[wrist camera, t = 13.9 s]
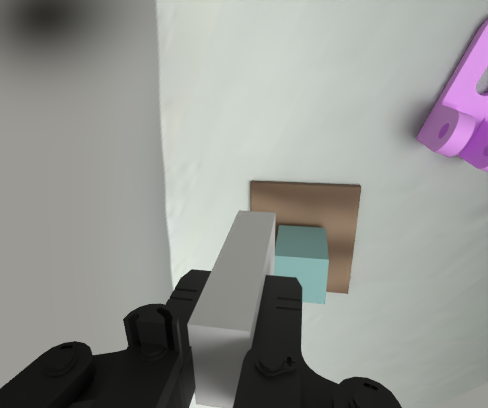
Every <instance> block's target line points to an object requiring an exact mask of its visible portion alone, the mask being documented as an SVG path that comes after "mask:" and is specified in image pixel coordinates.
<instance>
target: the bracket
mask: <svg viewBox="0 0 488 408" xmlns="http://www.w3.org/2000/svg"><path fill="white" fill-rule="evenodd" d="M487 66H488V19H487V20H486V21H485V22H484V23H483V24H482V25H481V27H480V28H479V30H478V31H477V33H476V35H475V36H474V38H473V40H472V42H471V43H470V45H469V47H468V49H467V50H466V52H465V54H464V55H463V57H462V59H461V61H460V62H459V64H458V66H457V68H456V69H455V71H454V73H453V74H452V76H451V78H450V80H449V81H448V83H447V85H446V87H445V88H444V90H443V92H442V94H441V95H440V97H439V99H438V100H437V102H436V104H435V106H434V107H433V109H432V111H431V113H430V114H429V116H428V118H427V120H426V121H425V123H424V125H423V126H422V128H421V130H420V132H419V133H418V135H417V137H416V139H417V140H418V141H420V142H421V143H422V144H424V145H425V146H426V147H428V148H429V149H430V150H431V151H434V152H436V153H439V154H441V155H444V156H447V157H452V156H454V155H457V156H459V157H461V158H463V159H464V160H466V161H467V162H469V163H470V164H472V165H473V166H475V167H476V168H478V169H481V170H483V171H486V172H488V91H487V92H486V93H484V94H481V95H479V94H478V93H477V91H476V85H477V82H478V81H479V79H480V77H481V76H482V74H483V72H484V71H485V69H486V68H487Z"/></svg>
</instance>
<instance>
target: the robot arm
mask: <svg viewBox="0 0 488 408" xmlns="http://www.w3.org/2000/svg"><path fill="white" fill-rule="evenodd" d="M274 264H275V212H257V211H239V212H238V214H237V216H236V218H235V220H234V223H233V225H232V227H231V229H230V231H229V234H228V236H227V238H226V240H225V242H224V245H223V247H222V249H221V251H220V254H219V256H218V258H217V260H216V262H215V265H214V267H213V269H212V271H204V270H191V271H189V272H188V273H187V274H185V275H184V276H183V277H181V279H180V280H179V282H178V284H177V286H176V287H175V290H174V291H173V292H172V294H171V296H170V299H168V301H167V303H166V305H164V304H148V305H145V306H141V307H139V308H137V309H135V310H133V311H132V312H130V313H129V314H128V315H127V316H126V317H125V318H124V319H123V321H124V326H125V331H126V336H127V341H128V347H127V349H126V350H122V351H118V352H113V353H106V354H100V355H92V352H91V349H90V347H89V346H87V345H86V344H85V343H81V342H75V341H74V342H68V343H63V344H60V345H58V346H55V347H53V348H51V349H49V350H48V351H46V352H45V353H43V354H42V355H41V356H39V357H38V358H37V359H36V360H35V361H33V362H32V363H31V364H30V365H29V366H27V367H26V368H25V369H24V370H23V371H21V372H20V373H19V374H18V375H16V376H15V377H14V378H13V379H12V380H10V381H9V382H8V383H7V384H5V385H4V386H3V387H2V388H1V389H0V408H189V406H190V403H191V400H192V397H193V394H194V391H195V399H196V404H200V405H206V406H213V407H219V408H402V407H401V405H400V403H399V402H398V400H397V399H396V398H395V396H394V395H393V394H392V392H391V391H389V390H388V389H387V388H386V387H384V386H383V385H382V384H380V383H378V382H376V381H374V380H371V379H369V378H363V377H352V378H348V379H344V380H343V381H342V382H341V383H340V384H337V383H335V382H332V381H330V380H328V379H325V378H323V377H322V376H320V375H318V374H316V373H315V372H314V371H313V370H312V369H310V368H309V366H308V365H307V364H306V363H305V361H304V359H303V356H302V353H301V326H302V289H303V288H302V286H301V284H300V283H299V281H298V279H297V278H296V277H286V276H274Z"/></svg>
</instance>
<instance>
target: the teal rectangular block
mask: <svg viewBox="0 0 488 408" xmlns="http://www.w3.org/2000/svg"><path fill="white" fill-rule="evenodd" d="M328 265H329V255H328V245H327V235H326V228H319V227H302V226H285V225H279V229H278V235H277V241H276V246H275V264H274V276H286V277H296V278H297V279H298V281H299V283H300V284H301V286H302V288H303V289H302V302H309V303H319V304H325V298H326V287H327V276H328Z"/></svg>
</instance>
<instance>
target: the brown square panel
mask: <svg viewBox="0 0 488 408" xmlns="http://www.w3.org/2000/svg"><path fill="white" fill-rule="evenodd" d="M360 193H361V186H360V185H348V184H323V183H298V182H273V181H252V182H251V211H257V212H275V246H276V241H277V235H278V229H279V225H285V226H302V227H319V228H326V235H327V245H328V255H329V265H328V276H327V287H326V292H335V293H346V294H348V289H349V281H350V273H351V265H352V257H353V249H354V241H355V233H356V225H357V217H358V209H359V201H360Z"/></svg>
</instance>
